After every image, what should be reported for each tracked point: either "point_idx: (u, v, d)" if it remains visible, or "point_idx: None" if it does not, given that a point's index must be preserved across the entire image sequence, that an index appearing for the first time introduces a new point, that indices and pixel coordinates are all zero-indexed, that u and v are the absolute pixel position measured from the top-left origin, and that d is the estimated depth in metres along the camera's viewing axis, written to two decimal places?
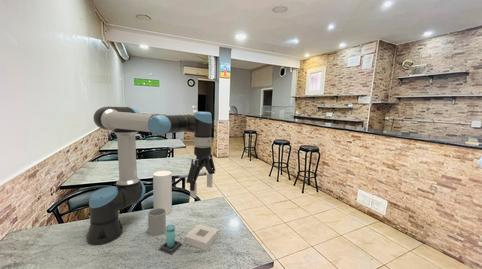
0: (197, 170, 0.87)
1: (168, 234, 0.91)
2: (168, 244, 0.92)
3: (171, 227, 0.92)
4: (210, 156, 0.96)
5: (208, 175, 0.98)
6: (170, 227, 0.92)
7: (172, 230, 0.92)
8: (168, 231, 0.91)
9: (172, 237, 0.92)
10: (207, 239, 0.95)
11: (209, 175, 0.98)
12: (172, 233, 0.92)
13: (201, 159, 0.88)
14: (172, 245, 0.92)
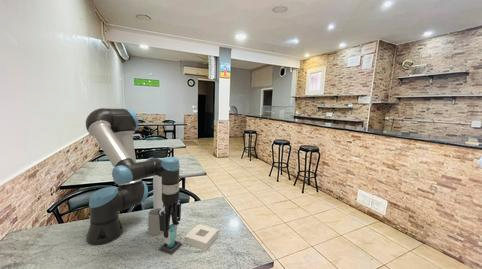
0: (167, 218, 0.89)
1: None
2: (168, 244, 0.92)
3: (171, 227, 0.92)
4: (179, 202, 0.96)
5: None
6: (170, 227, 0.92)
7: (172, 230, 0.92)
8: None
9: (172, 237, 0.92)
10: (207, 239, 0.95)
11: None
12: (172, 233, 0.92)
13: (168, 205, 0.88)
14: (172, 245, 0.92)
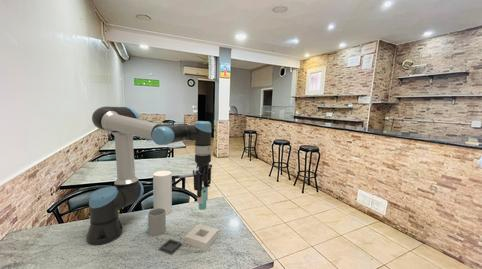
0: (200, 178, 0.94)
1: None
2: (201, 204, 0.96)
3: (203, 188, 0.97)
4: (210, 165, 1.01)
5: None
6: (202, 188, 0.97)
7: (204, 191, 0.96)
8: None
9: (204, 198, 0.96)
10: (207, 239, 0.95)
11: None
12: (204, 194, 0.96)
13: (201, 166, 0.93)
14: (204, 205, 0.97)
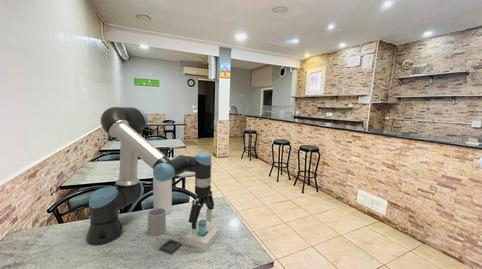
0: (198, 209, 0.94)
1: (200, 228, 0.98)
2: None
3: (203, 222, 0.99)
4: (210, 192, 1.03)
5: (207, 210, 1.05)
6: (202, 222, 0.99)
7: (204, 224, 0.98)
8: (200, 225, 0.98)
9: (204, 231, 0.98)
10: (207, 239, 0.95)
11: (208, 210, 1.04)
12: (204, 227, 0.98)
13: (201, 198, 0.95)
14: None
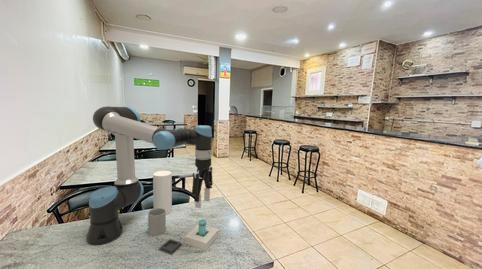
0: (199, 182, 0.93)
1: (200, 228, 0.98)
2: None
3: (203, 222, 0.99)
4: (210, 168, 1.01)
5: (205, 190, 1.01)
6: (202, 222, 0.99)
7: (204, 224, 0.98)
8: (200, 225, 0.98)
9: (204, 231, 0.98)
10: (207, 239, 0.95)
11: (206, 190, 1.01)
12: (204, 227, 0.98)
13: (201, 170, 0.93)
14: None
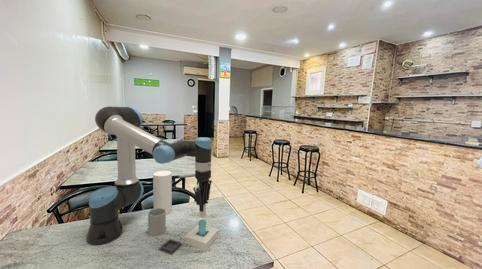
0: (201, 194, 0.96)
1: (200, 228, 0.98)
2: None
3: (203, 222, 0.99)
4: (209, 181, 1.02)
5: None
6: (202, 222, 0.99)
7: (204, 224, 0.98)
8: (200, 225, 0.98)
9: (204, 231, 0.98)
10: (207, 239, 0.95)
11: None
12: (204, 227, 0.98)
13: (201, 182, 0.94)
14: None
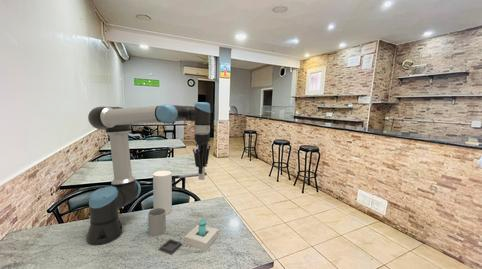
0: (200, 156, 1.00)
1: (200, 228, 0.98)
2: None
3: (203, 222, 0.99)
4: (208, 146, 1.06)
5: None
6: (202, 222, 0.99)
7: (204, 224, 0.98)
8: (200, 225, 0.98)
9: (204, 231, 0.98)
10: (207, 239, 0.95)
11: None
12: (204, 227, 0.98)
13: (200, 144, 0.98)
14: None
